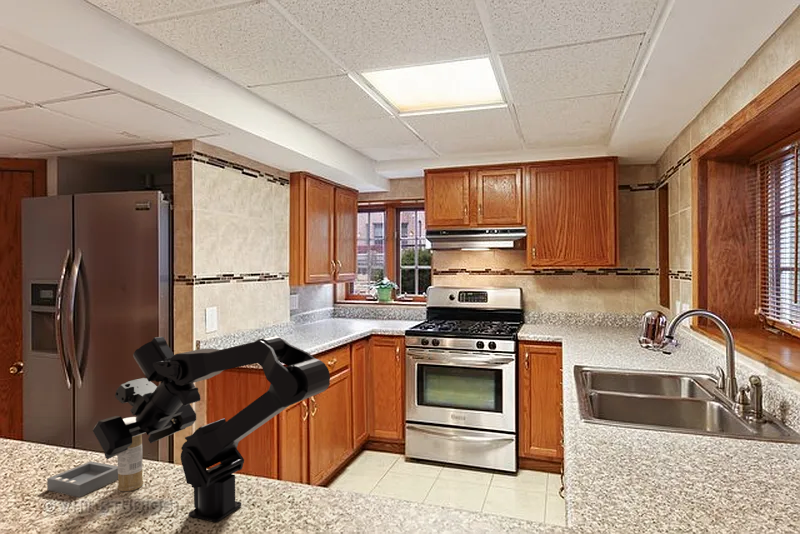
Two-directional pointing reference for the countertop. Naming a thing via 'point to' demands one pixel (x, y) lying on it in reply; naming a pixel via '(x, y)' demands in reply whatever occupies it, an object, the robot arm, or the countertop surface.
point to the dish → (83, 479)
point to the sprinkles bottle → (130, 463)
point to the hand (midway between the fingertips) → (129, 448)
